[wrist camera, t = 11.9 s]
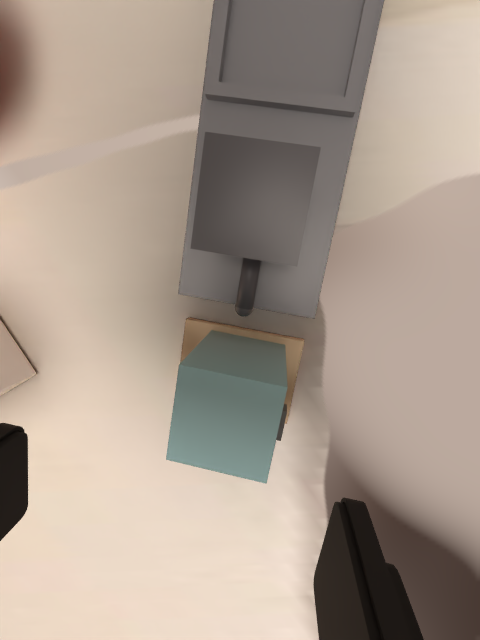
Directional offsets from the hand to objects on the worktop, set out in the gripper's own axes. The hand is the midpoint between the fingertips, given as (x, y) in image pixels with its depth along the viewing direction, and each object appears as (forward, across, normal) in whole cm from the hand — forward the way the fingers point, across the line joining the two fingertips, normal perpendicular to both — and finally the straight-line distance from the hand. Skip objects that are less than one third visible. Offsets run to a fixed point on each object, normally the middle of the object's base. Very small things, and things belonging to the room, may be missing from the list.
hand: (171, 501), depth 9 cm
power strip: (+14, -1, -16) cm, 21 cm away
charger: (+13, -1, +1) cm, 13 cm away
